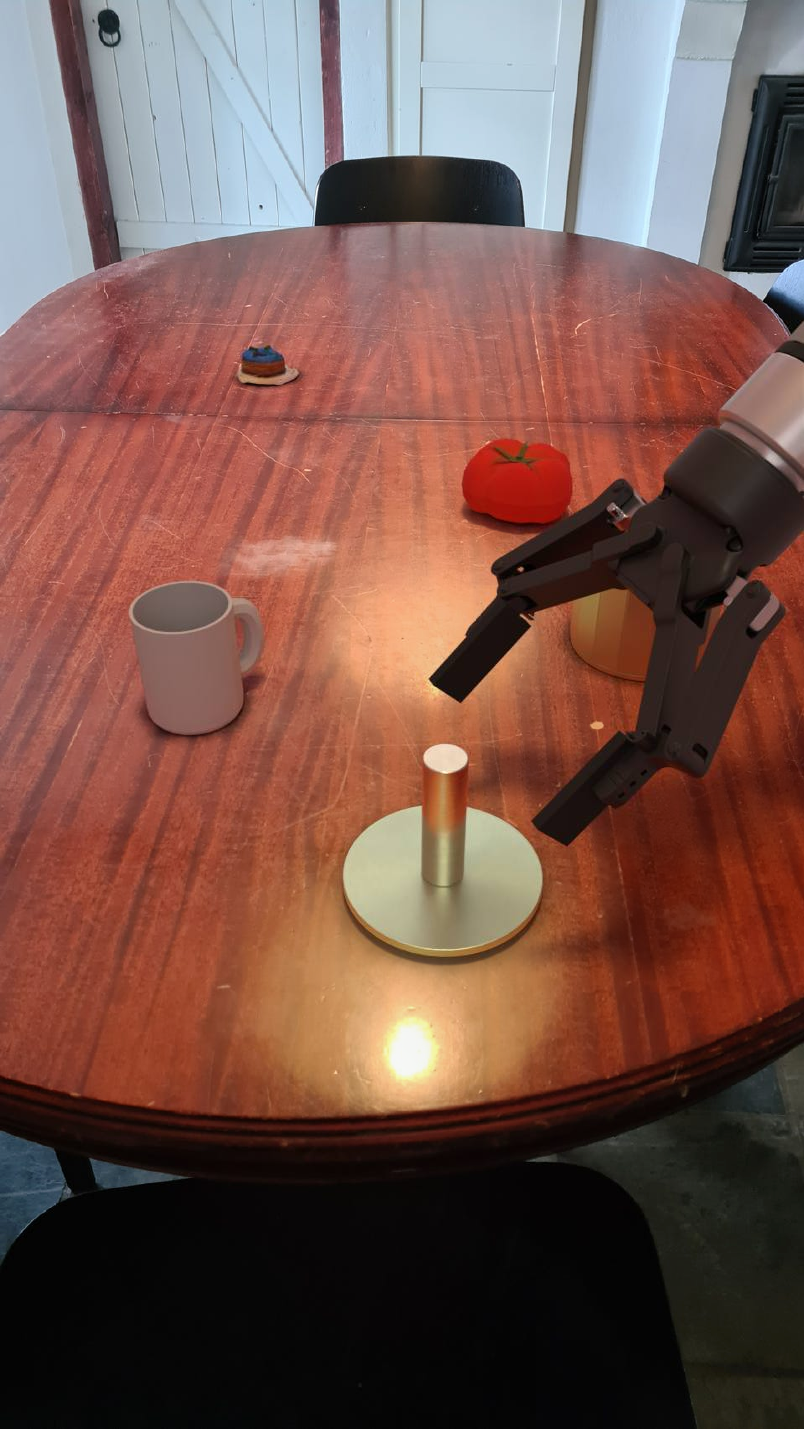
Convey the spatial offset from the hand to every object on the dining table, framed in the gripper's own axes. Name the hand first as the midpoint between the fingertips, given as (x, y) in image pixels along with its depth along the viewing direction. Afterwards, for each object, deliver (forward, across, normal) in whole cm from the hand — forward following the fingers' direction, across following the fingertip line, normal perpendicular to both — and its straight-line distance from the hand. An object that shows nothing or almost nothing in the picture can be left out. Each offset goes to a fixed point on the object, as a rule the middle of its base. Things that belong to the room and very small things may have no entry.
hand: (491, 757), depth 59 cm
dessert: (-2, +91, -15) cm, 93 cm away
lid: (+8, 0, -4) cm, 9 cm away
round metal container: (-10, +18, -23) cm, 31 cm away
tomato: (-10, +44, -24) cm, 51 cm away
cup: (+15, +24, +2) cm, 28 cm away
